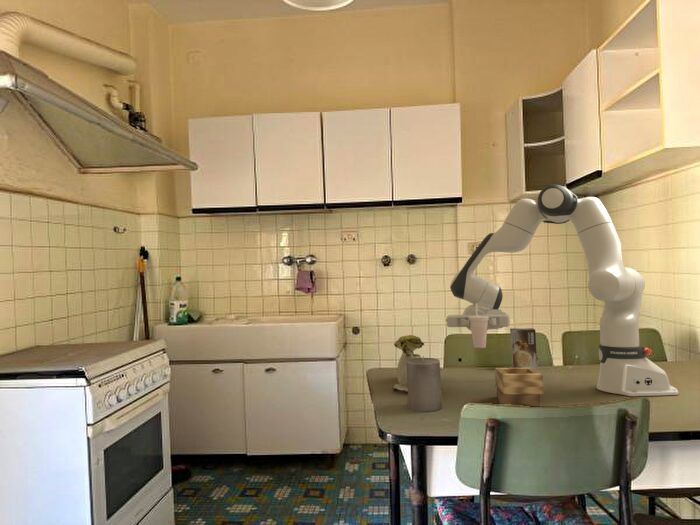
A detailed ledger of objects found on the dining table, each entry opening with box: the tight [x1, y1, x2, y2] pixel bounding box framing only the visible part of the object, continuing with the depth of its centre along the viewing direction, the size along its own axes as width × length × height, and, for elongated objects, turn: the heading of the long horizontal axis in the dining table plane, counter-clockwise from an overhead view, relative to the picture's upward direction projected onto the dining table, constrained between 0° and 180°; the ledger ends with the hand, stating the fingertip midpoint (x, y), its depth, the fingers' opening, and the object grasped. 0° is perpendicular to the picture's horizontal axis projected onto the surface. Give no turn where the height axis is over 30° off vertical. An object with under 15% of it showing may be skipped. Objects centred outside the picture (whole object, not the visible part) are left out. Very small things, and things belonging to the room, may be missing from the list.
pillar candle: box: [407, 355, 443, 413], centre depth 150 cm, size 10×10×15 cm
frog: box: [392, 334, 425, 392], centre depth 172 cm, size 12×13×18 cm
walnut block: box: [495, 386, 542, 406], centre depth 154 cm, size 11×11×4 cm
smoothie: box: [469, 303, 489, 349], centre depth 166 cm, size 6×6×14 cm
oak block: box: [494, 367, 544, 395], centre depth 154 cm, size 11×11×6 cm
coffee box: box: [509, 327, 538, 370], centre depth 202 cm, size 9×6×16 cm
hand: (479, 322), depth 165 cm, fingers closed on smoothie, 6 cm apart
